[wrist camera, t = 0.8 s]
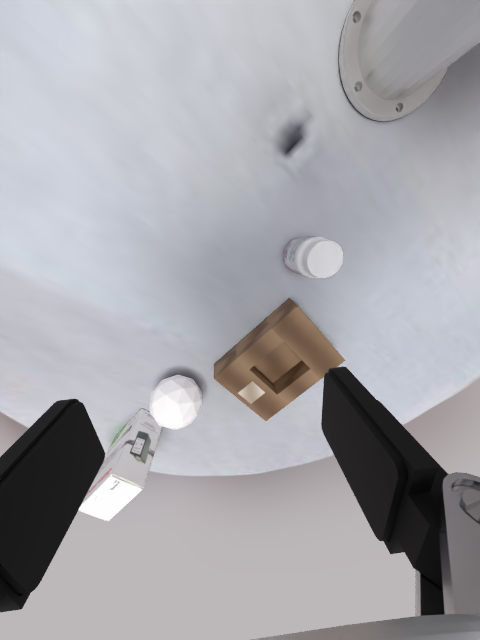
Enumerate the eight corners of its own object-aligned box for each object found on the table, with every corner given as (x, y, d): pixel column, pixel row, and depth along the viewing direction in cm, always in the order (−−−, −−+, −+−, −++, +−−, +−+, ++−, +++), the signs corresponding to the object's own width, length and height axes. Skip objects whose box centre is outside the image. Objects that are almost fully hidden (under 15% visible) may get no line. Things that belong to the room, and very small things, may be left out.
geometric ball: (174, 382, 40) (134, 412, 34) (185, 356, 35) (141, 386, 29) (203, 412, 38) (167, 450, 32) (219, 389, 34) (180, 428, 27)
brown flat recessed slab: (289, 298, 33) (298, 306, 30) (332, 348, 37) (345, 360, 33) (214, 363, 36) (213, 378, 32) (261, 404, 40) (265, 421, 36)
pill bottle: (320, 260, 32) (353, 267, 24) (292, 278, 32) (315, 290, 25) (306, 229, 30) (337, 226, 22) (276, 249, 31) (296, 253, 23)
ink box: (137, 448, 41) (107, 525, 30) (114, 436, 40) (73, 512, 29) (165, 420, 40) (144, 490, 29) (141, 406, 38) (109, 475, 27)
